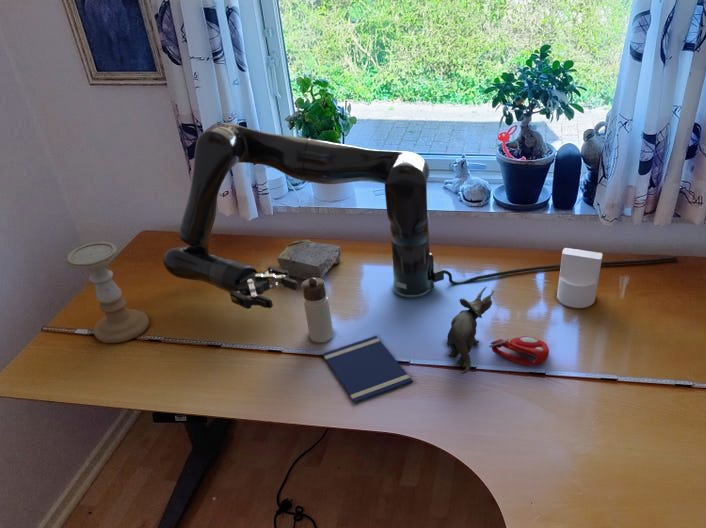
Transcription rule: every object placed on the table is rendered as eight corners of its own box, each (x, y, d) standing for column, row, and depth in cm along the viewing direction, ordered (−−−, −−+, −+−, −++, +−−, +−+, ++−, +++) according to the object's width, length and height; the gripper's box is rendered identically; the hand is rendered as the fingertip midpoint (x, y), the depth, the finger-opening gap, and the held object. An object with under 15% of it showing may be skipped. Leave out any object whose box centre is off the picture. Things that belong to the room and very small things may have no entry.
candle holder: (159, 326, 148) (131, 250, 136) (110, 350, 141) (76, 273, 129) (134, 307, 155) (105, 234, 142) (85, 330, 148) (51, 254, 136)
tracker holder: (533, 331, 139) (560, 345, 131) (530, 349, 141) (557, 365, 132) (486, 334, 134) (512, 350, 126) (484, 354, 136) (509, 370, 127)
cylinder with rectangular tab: (553, 304, 149) (558, 259, 142) (561, 285, 156) (566, 241, 148) (591, 310, 146) (599, 266, 139) (597, 291, 153) (605, 247, 145)
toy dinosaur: (466, 390, 126) (466, 345, 119) (426, 381, 129) (425, 337, 122) (493, 329, 142) (495, 286, 135) (458, 322, 145) (458, 280, 138)
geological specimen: (322, 266, 157) (271, 254, 161) (324, 286, 161) (274, 274, 166) (342, 245, 165) (292, 234, 169) (343, 265, 169) (295, 254, 173)
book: (376, 337, 142) (376, 335, 141) (412, 382, 129) (412, 380, 129) (322, 355, 137) (322, 353, 137) (354, 403, 125) (354, 401, 124)
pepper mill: (328, 326, 146) (319, 269, 136) (337, 338, 142) (328, 280, 132) (306, 333, 144) (296, 276, 134) (314, 345, 140) (304, 287, 131)
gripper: (206, 277, 142) (259, 296, 135) (250, 250, 151) (302, 266, 144) (214, 304, 147) (265, 324, 140) (257, 276, 156) (306, 294, 149)
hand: (284, 295), depth 142 cm, fingers open, 8 cm apart
